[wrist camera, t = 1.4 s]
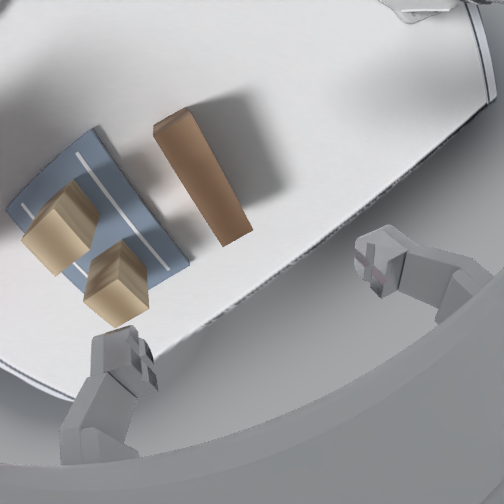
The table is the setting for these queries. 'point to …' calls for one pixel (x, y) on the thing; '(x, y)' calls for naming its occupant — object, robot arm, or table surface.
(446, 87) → the table surface
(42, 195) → the blueprint board
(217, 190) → the walnut lintel
